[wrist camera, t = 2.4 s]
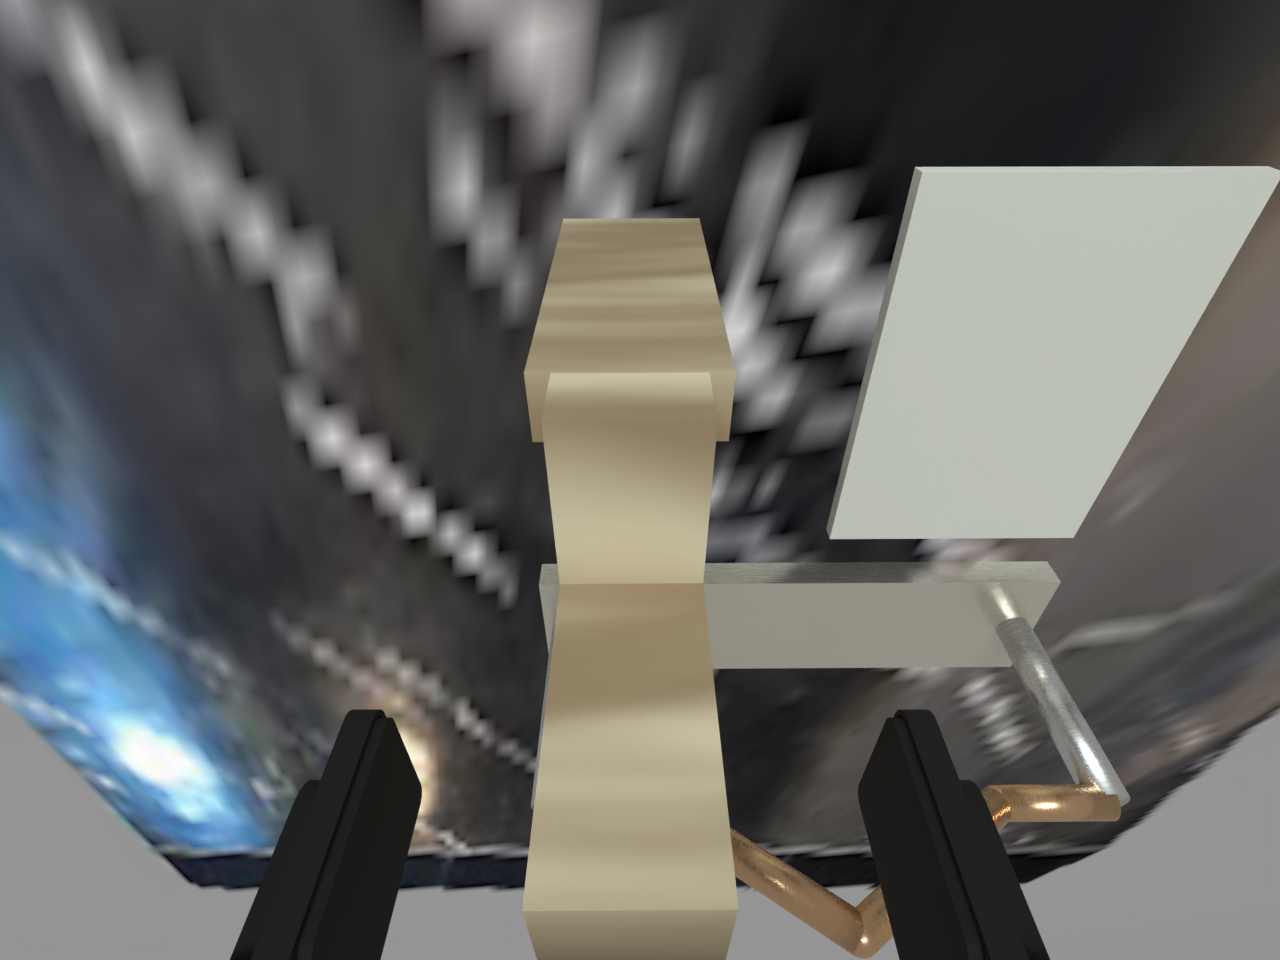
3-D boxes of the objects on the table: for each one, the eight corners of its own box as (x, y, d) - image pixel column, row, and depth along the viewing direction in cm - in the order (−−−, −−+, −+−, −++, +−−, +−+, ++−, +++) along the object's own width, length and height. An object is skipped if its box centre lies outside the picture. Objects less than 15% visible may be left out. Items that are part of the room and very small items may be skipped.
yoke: (563, 218, 19) (424, 761, 7) (699, 218, 19) (828, 759, 7) (583, 504, 26) (536, 1036, 14) (683, 504, 26) (730, 1034, 14)
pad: (914, 166, 19) (922, 172, 18) (1268, 166, 19) (1284, 171, 18) (826, 529, 27) (829, 539, 27) (1065, 527, 27) (1073, 537, 27)
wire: (542, 563, 29) (488, 926, 18) (1047, 561, 29) (1286, 919, 18) (553, 648, 32) (514, 989, 22) (999, 646, 32) (1175, 983, 22)
